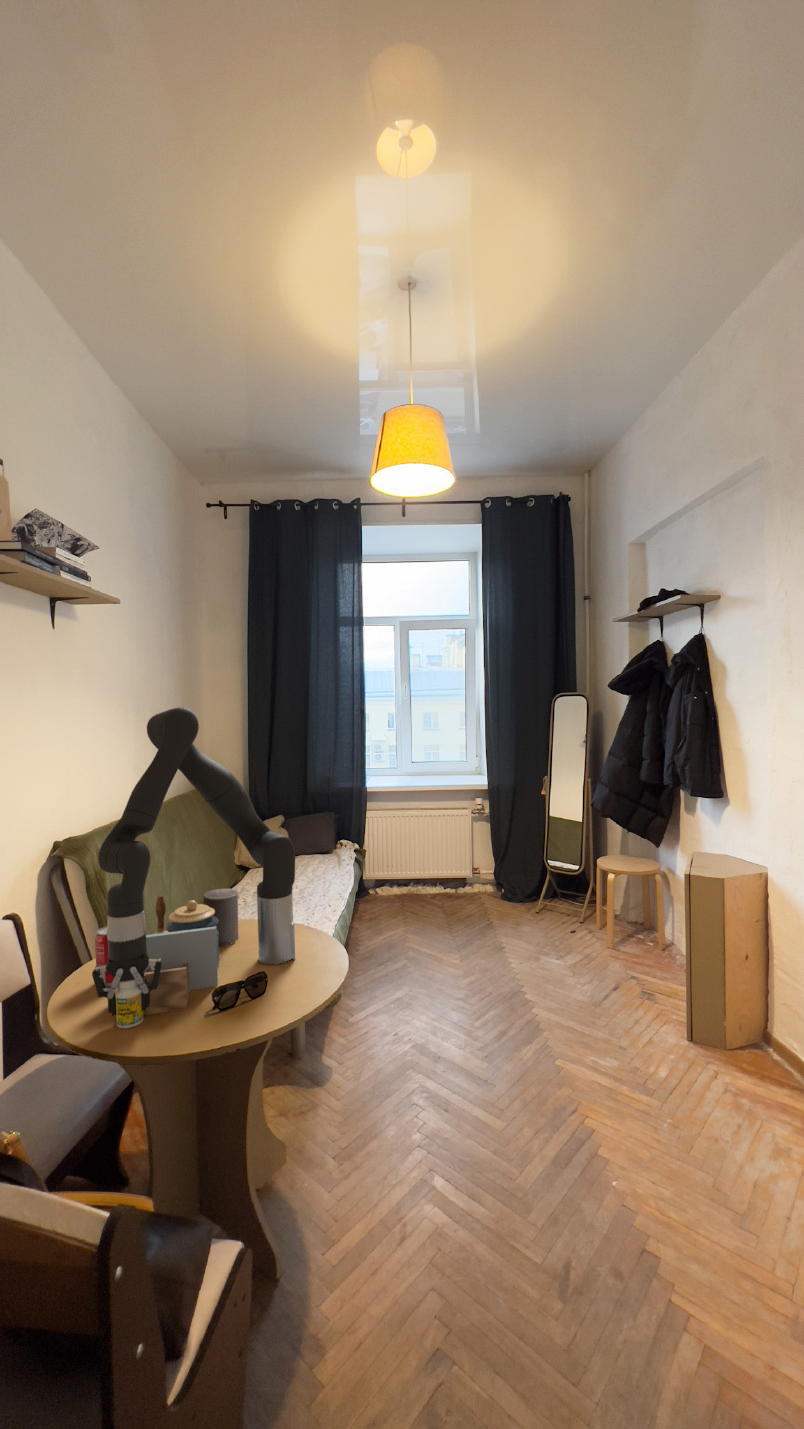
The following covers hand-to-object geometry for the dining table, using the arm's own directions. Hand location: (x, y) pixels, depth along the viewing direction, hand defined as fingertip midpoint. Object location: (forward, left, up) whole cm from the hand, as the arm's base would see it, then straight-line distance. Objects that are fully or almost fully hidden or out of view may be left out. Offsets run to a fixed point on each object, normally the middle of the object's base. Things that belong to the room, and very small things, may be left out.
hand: (129, 1011), depth 130 cm
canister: (-12, -24, -3) cm, 27 cm away
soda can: (+7, -23, -3) cm, 24 cm away
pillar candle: (-19, -41, -3) cm, 45 cm away
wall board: (-7, -12, -2) cm, 14 cm away
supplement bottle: (0, 0, -3) cm, 3 cm away
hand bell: (-3, -37, -3) cm, 37 cm away
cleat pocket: (-7, -7, -2) cm, 10 cm away
